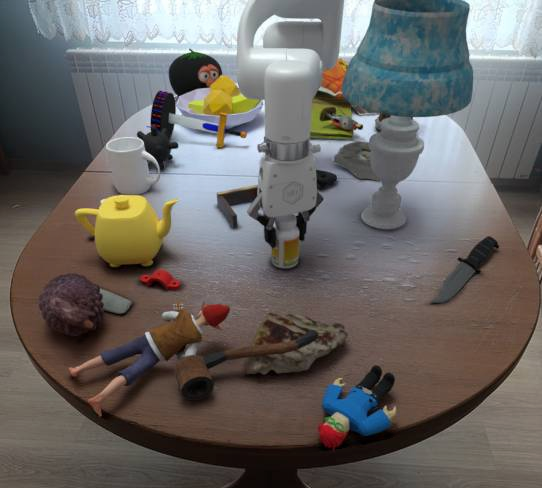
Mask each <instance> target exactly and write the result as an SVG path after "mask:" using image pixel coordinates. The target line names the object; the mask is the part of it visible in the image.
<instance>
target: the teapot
mask: <svg viewBox="0 0 542 488" xmlns="http://www.w3.org/2000/svg"><path fill="white" fill-rule="evenodd" d="M105 199H106V200H104V201H103V203H102V204H101V205H100V204H99V207H98V209H97V208H89V207H88V208H86V207H85V208H84V207H82V208H78V209H76V210H75V212H74V217H75V219H76V220H77V222H78V223H79V224H80V225H81V227H83V229H85V230H86V231H88V232H89V233H90V235H91V236H95V237H94V242H95V248H96V252H97V254H98V255H99V256H100V258H101V259H103V260H104V261H105V262H107V263H109V267H112V268H119V267H121V266H122V265H138V264H139V265H141V267H150V266H151V265H153V263H154V261H153V259H155V257H156V255H157V254H158V253H159V251H160V248H161V247H162V244H163V241H164V238H165V237H167V235H169V233H170V230H171V227H172V209H173V207H174V205H176V203H177V202H179V201H180V199H179V198H174V199H170V200H168V201H166V202H165V203H164V205H163V207H162V219H161V220H160V219H159V217H158V215H157V213H156V212H155V209H154V208H153V207H152V205H151V203H150V202H149V201H148V199H147V198H145V197H144V196H142V195H140V194H139V195H124V194H118V195H112V196H109V197H106V198H105ZM87 216H95V217H96V219H95V224H94V226H93V225H92V224H91V223H90V221H89V220H88V219H87Z"/></svg>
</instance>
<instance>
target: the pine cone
mask: <svg viewBox="0 0 542 488" xmlns="http://www.w3.org/2000/svg"><path fill="white" fill-rule="evenodd" d="M100 288H101V287H100V286H99V285H98V284H96V283H93V281H91V279H89V278H87V277H86V276H85V275H83V274H79V273H71V272H68V273H65V274H60V275H57V276H55V277H54V278H51V280H49V282H48V283H47V284H45V285H44V287H43V292H42V293H40V294H39V297H38V300H39V304H38V308H39V310H40V312H41V316H42V319H43V320H44V321H45V322H44V323H45V325H46V326H47V327H49V328H51V329H52V330H54V331H56V332H58V333H62V334H65V335H67V336H70V337H77V336H78V337H79V336H81V335H82V334H85V333H88V332H89V331H95V330H96V328H97V326H100V325H102V324H103V319H102V316H103V315H104V313H105V311H103V309H102V308H103V306H104V303H103V302H102V298H103V295H102V294H101V293H100Z"/></svg>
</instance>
